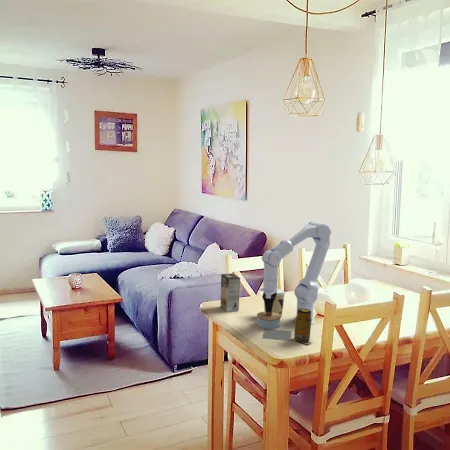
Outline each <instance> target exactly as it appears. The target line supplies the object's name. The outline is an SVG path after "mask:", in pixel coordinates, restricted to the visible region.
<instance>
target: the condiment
mask: <svg viewBox="0 0 450 450" xmlns="http://www.w3.org/2000/svg"><path fill="white" fill-rule="evenodd" d="M295 318H296V323H295V322H294V323H295V326H294V334H293V335H294V337H291V338H290V339H291V340H292V341H295V342H298V343H301V344H306V345H311V344H313V342H311V341H310V340H311V328H312V324H311V319H312V318H311V310H309V309H304V308H300V309H298V313H297V312H296V315H295ZM291 340H290V341H291Z"/></svg>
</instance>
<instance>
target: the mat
mask: <svg viewBox="0 0 450 450" xmlns="http://www.w3.org/2000/svg"><path fill="white" fill-rule="evenodd" d="M261 338H262V339H266V340H278V341H289V342H291V339H290V338H292V331H291V330H283V329H282V330H281V329H266V328H264V331H263V334H262V337H261Z"/></svg>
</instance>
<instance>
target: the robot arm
mask: <svg viewBox="0 0 450 450" xmlns="http://www.w3.org/2000/svg"><path fill="white" fill-rule="evenodd" d="M331 234H332V229H331V228H330V226H329V225H328V223H323V222H322V223H321V222H318V221H315V220H312V221H311V220H310V221H309V222H307V224H304V226H303V228H301V229H300V230H299V231H298V232H297V233H296V234H294V235H293V236H292V237H290V238H289V239H288V240H287V239H284V240H280V241H279V243H278V244H276V245H275V246H272V247H271V249H268V250H266V251H265V252H263V254H262V256H261V260H262V262H263V285H262V286H263V287H261V288H260V289H259V291H260V292H261V291H262V292H263V294H262V300H263V301H264V303H265V309H266V312H271V311H272V307H273V303H274V300H275V298H276V295H277V289H278V270H279V269H278V267H279V265H280V264H281V262H282V259H283V258H285V257H286V256H288V255H289V254H291V253H292V252H293V250H294V247H295V246H297V245H299V244H300V243H302V242H304V241H305V240H306V239H308V238H312V239H313V242H314V243H315V247H314V250H313V252H312V255H311V257H310V258H311V259H310V260H309V264H308V266H307V269H306V272H305V275H304V278H302V279H300V280H299V283H298V285H297V286H295V288H294V296H295V297H296V301H297V302H296V314H297V313H298V309H300V308H304V309H309V310H311V318H312V319H311V325H314V324H315V318H314V305H315V303H316V301H317V300H318V296H319V295H318V292H319V288H320V287H319V286H318V283H317V282H318V279H319V276H320V273H321V271H322V268H323V265H324V262H325V258H326V257H327V254H328V250H329V248H330V244H331V242H330V241H331V240H330V239H331V238H330V236H331ZM264 303H263V304H264ZM294 323H296V317H295V319H294Z"/></svg>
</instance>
